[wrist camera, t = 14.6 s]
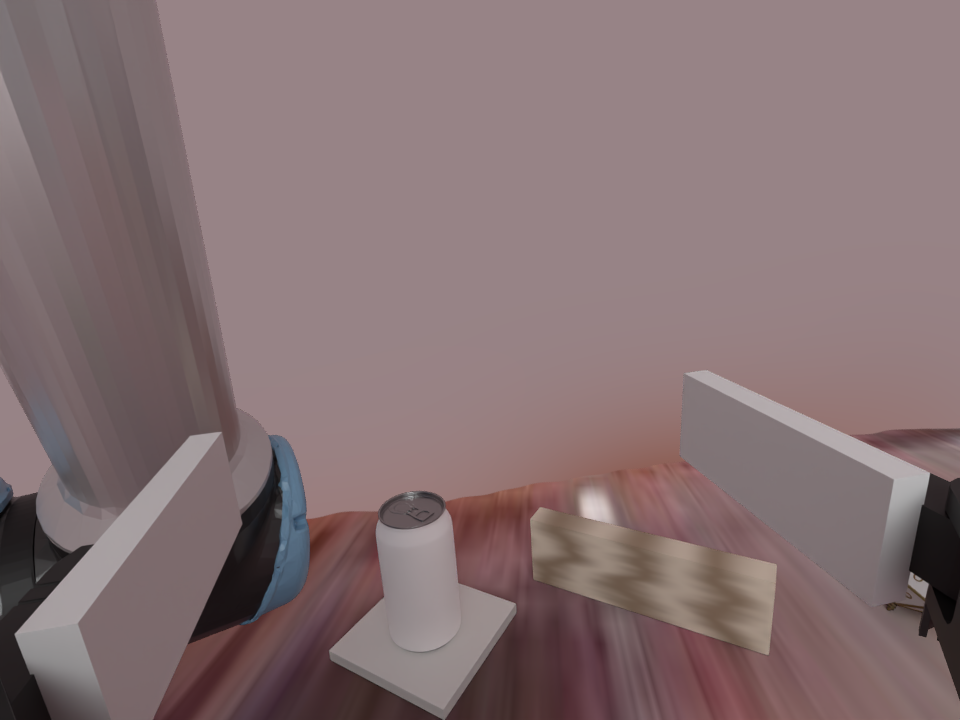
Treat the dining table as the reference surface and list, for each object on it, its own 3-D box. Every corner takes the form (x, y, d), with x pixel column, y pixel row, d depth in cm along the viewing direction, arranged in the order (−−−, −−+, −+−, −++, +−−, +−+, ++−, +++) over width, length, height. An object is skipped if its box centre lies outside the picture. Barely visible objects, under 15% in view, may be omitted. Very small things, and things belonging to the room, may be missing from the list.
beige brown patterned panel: (533, 579, 52) (530, 519, 50) (542, 565, 54) (540, 507, 52) (768, 655, 41) (775, 582, 39) (770, 634, 43) (776, 564, 41)
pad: (330, 660, 44) (328, 650, 44) (415, 575, 54) (414, 567, 54) (444, 720, 38) (443, 709, 38) (516, 612, 48) (516, 603, 48)
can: (422, 591, 50) (409, 481, 47) (476, 616, 46) (466, 499, 43) (374, 635, 45) (356, 516, 42) (429, 668, 41) (414, 540, 38)
